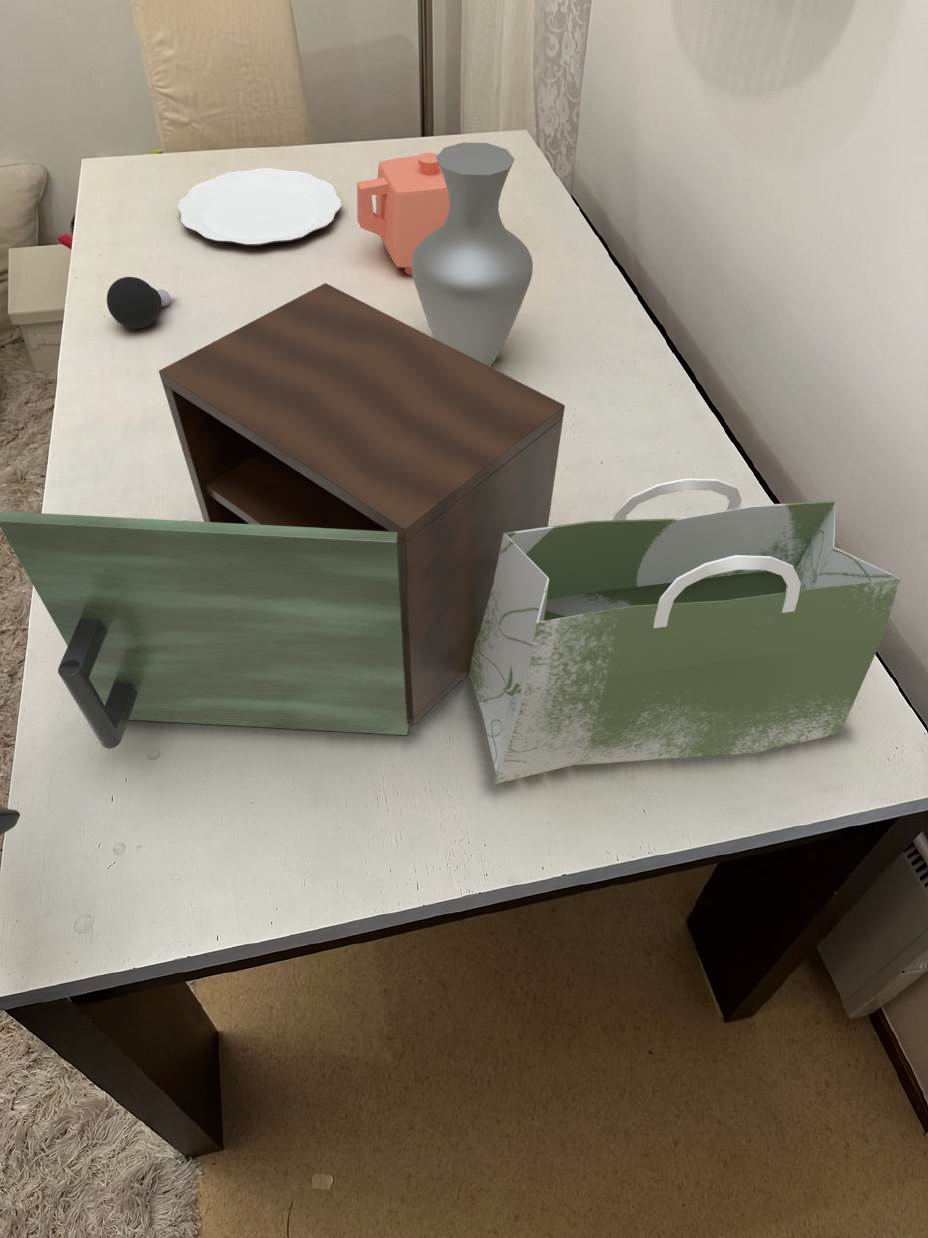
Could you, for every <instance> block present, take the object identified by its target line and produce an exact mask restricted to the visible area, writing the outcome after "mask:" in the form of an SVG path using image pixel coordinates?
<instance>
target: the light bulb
mask: <svg viewBox="0 0 928 1238" xmlns="http://www.w3.org/2000/svg"><path fill="white" fill-rule="evenodd" d="M171 300H172V299H171V294H170V293H169V291H167V290H166V289H155V288H154V287H153V286H151V284H149V283H148V282H147V281H145V280H143V279H141V278H139V277H135V276H124V277H121V278H118V279H116V280H115V281H114V282H113V283H112V284H110V287H108V291H107V294H106V305H107V309H108V312H109V313H110V315H111V317H112V318H113V319H114V320H115V321H116V322H117V323H119V324H120V325H122V326H123V327H125V328H129V329H134V330H138V329H139V330H140V329H145V328H146V327H149V326H150V325H151V324H153V322H154V321H155V320H156V318H157V317H158V314H159V311H160V310H161V308H163V307H167V306H169V305H170V304H171Z"/></svg>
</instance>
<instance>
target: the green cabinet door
mask: <svg viewBox="0 0 928 1238" xmlns="http://www.w3.org/2000/svg"><path fill="white" fill-rule="evenodd" d="M0 530H1V531H2V533H3V535H4V536H5V538H6V540H7V541H8V543H9V545H10V547H11V548H12V550H13V552H14V554H15V555H16V557H17V560H18V561H19V563H20V564H21V566H22V568H23V570H24V572H25V573H26V576H27V577H28V579H29V581H30V582H31V584H32V587H34V590H35V591H36V593H37V594H38V597H39V598H40V600H41V601H42V603H43V605H44V606H45V609H46V610H47V613H48V614H49V616H50V618H51V619H52V621H53V623H54V625H55V627H56V628H57V630H58V632H59V634H60V635H61V637H62V639H63V642H65V644H66V646H67V647H66V650H65V651H64V655H63V656H62V658H61V661H60V663H59V665H58V669H57V673H58V676H59V677H60V678H61V680H62V681H63V684H64V685H65V687H66V688H67V690H68V692H69V693H70V695H71V697H72V698H73V700H74V701H75V703H76V705H77V707H78V708H79V710H80V712H81V713H82V715H83V717H84V718H85V720H86V722H87V723H88V725H89V727H90V728H91V730H92V732H93V733H94V735H95V737H96V738H97V740H98V742H99V743H100V744H101V746H102V747H103V748H104V749H107V750H108V749H109V750H111V749H114V748H116V747H117V746H119V745H120V743H121V741H122V739H123V737H124V734H125V731H126V728H127V725H128V722H129V721H145V722H146V721H148V722H162V723H163V722H164V723H181V724H182V723H184V724H199V725H201V724H202V725H216V726H217V725H219V726H221V725H222V726H238V727H254V728H271V729H272V728H273V729H290V730H291V729H292V730H306V731H307V730H308V731H325V732H344V733H362V734H380V735H396V736H397V735H398V736H408V731H409V722H408V712H407V693H406V674H405V655H404V636H403V618H402V599H401V580H400V561H399V542H398V532H387V531H368V530H349V529H330V528H311V527H292V526H273V525H254V524H235V523H216V522H204V521H197V520H178V519H177V520H175V519H156V518H139V517H138V518H136V517H119V516H103V515H102V516H100V515H99V516H98V515H84V514H83V515H80V514H63V513H61V514H60V513H44V512H43V513H41V512H22V511H7V510H6V511H5V510H4V511H2V512H1V513H0Z"/></svg>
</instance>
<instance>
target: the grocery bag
mask: <svg viewBox="0 0 928 1238" xmlns="http://www.w3.org/2000/svg"><path fill="white" fill-rule="evenodd" d="M684 491H697V492H698V491H701V492H702V491H703V492H704V491H706V492H708V491H709V492H713V493H716V494H719V495H722V496H725V497H726V498H727V500H728V501H729V503H728V506H727V509H724V510H719V511H713V512H706V513H700V514H694V515H689V516H683V517H677V518H649V519H648V518H646V519H645V518H644V519H643V518H641V519H627V517H628V515H629V514H630V513H631V512H632V511H633V510H634V509H636V508H637V506H639V505H640V504H643V503H645V502H647V501H650V500H652V499H654V498H657V497H659V496H665V495H669V494H674V493H680V492H684ZM742 501H743V498H742V496H741V494H740V492H739V489H738V488H737V486H735V485H733V484H730V483H728V482H724V481H722V480H721V479H717V478H680V479H676V480H672V481H667V482H663V483H657V484H656V485H655V484H654V485H653V486H651V487H648V488H647V489H644V490H642V491H640V492H638V493H635V494H633V495H631V496H630V497H628V499H627V500H626V501H625V502H624V503H623V504H621V506H619V508H618V509H617V510H615V512H614V513H613V516H612V519H608V520H606V519H605V520H588V521H579V522H573V523H565V524H559V525H558V524H557V525H552V526H548V527H544V528H536V529H529V530H522V531H515V532H508V533H504V534H503V538H502V543H501V548H500V553H499V558H498V563H497V568H496V572H495V577H494V582H493V586H492V590H491V593H490V597H489V600H488V603H487V607H486V610H485V614H484V617H483V621H482V624H481V628H480V631H479V634H478V636H477V638H476V640H475V643H474V649H473V655H472V661H471V667H470V673H469V674H468V675H469V677H470V680H471V684H472V687H473V689H474V693H475V696H476V699H477V702H478V706H479V709H480V712H481V715H482V718H483V722H484V727H485V731H486V736H487V740H488V745H489V750H490V754H491V758H492V762H493V768H494V772H495V779H494V785H498V784H503V783H507V782H510V781H511V782H512V781H514V780H518V779H522V778H528V777H530V776H535V775H540V774H544V773H548V772H551V771H556V770H559V769H564V768H568V767H572V766H581V765H582V766H583V765H594V764H595V765H597V764H609V763H611V764H612V763H623V762H625V763H626V762H637V761H638V762H639V761H653V760H663V759H678V758H679V759H680V758H694V757H695V758H696V757H710V756H711V757H712V756H727V755H740V754H743V755H744V754H757V753H760V752H765V751H769V750H770V751H771V750H774V749H779V748H782V747H787V746H792V745H796V744H800V743H805V742H809V741H813V740H818V739H822V738H825V737H830V736H835V735H839V734H841V732H842V730H843V727H844V725H845V723H846V721H847V719H848V717H849V714H850V713H851V710H852V709H853V705H854V703H855V701H856V699H857V696H858V694H859V692H860V690H861V689H862V686H863V683H864V681H865V679H866V677H867V674H868V672H869V669H870V667H871V665H872V663H873V661H874V658H875V656H876V654H877V652H878V649H879V647H880V644H881V642H882V640H883V638H884V635H885V632H886V629H887V628H886V627H887V625H888V622H889V619H890V618H889V617H890V616H891V612H892V609H893V605H894V603H895V598H896V596H897V593H898V590H899V587H900V583H901V580H902V579H901V577H898V576H896V575H894V574H892V573H890V572H887V571H886V570H884V569H881V568H880V567H878V566H875V565H873V564H871V563H869V562H867V561H864V560H862V559H861V558H858V557H857V556H855V555H853V554H850V553H847V552H846V551H844V550H842V549H840V548H838V547H835V535H836V534H835V533H836V532H835V531H836V500H823V501H821V500H820V501H806V502H805V501H804V502H789V503H788V502H787V503H774V504H772V503H771V504H758V505H757V504H755V505H747V506H741V505H742Z"/></svg>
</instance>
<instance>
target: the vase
mask: <svg viewBox="0 0 928 1238" xmlns="http://www.w3.org/2000/svg"><path fill="white" fill-rule="evenodd" d="M438 154H439V155H438V156H437V157H436V158H437V161H438V163H439V166H440V168H441V171H442V174H443V177H444V180H445V183H446V187H447V190H448V195H449V212H448V215H447V218H446V220H445V222H444V224H443V225H442V226H441V227H440V228H438V229H437V230H435V231H433V232H432V233H430V234H429V235H428V236H426V237H425V238H424V239H423V240H422V241H421V242H420V243H419V244H418V246H417V248H416V249H415V251H414V253H413V257H412V274H413V275H412V279H413V282H414V286H415V289H416V292H417V295H418V299H419V301H420V305H421V307H422V310H423V313H424V316H425V319H426V322H427V324H428V327H429V330H430V332H431V334H432V338H434V339H436V340H438V341H440V342H442V343H444V344H446V345H448V346H450V347H452V348H454V349H456V350H458V351H460V352H462V353H464V354H466V355H467V356H469V357H471V358H473V359H475V360H477V361H479V362H481V363H483V364H485V365H487V366H489V367H491V368H492V367H493V364H494V362H495V361H496V359H497V357H498V356H499V354H500V352H501V350H502V349H503V347H504V345H505V343H506V341H507V339H508V337H509V335H510V333H511V331H512V329H513V326H514V324H515V321H516V320H517V317H518V314H519V312H520V310H521V308H522V304H523V302H524V299H525V297H526V294H527V291H528V289H529V286H530V284H531V280H532V277H533V271H534V262H533V258H532V255H531V252H530V250H529V249H528V247H527V246H526V245H525V243H523V241H522V240H521V239H520V238H519V237H518V236H516V235H515V234H513V232H511V231H509V230H508V229H506V228H505V226H504V224H503V222H502V219H501V216H500V211H499V208H500V207H499V206H500V200H501V199H500V198H501V196H502V192H503V188H504V186H505V183H506V180H507V178H508V176H509V173H510V171H511V169H512V167H513V164H514V163H515V158H514V156H513V155H512V154H511V152H509V150H508V149H507V148H504V147H501V146H498V145H495V144H491V143H488V142H467V141H466V142H459V143H456V144H453V145H452V144H451V145H449V146H446V147H443V148H442V150H441V151H440V152H439V153H438Z"/></svg>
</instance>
